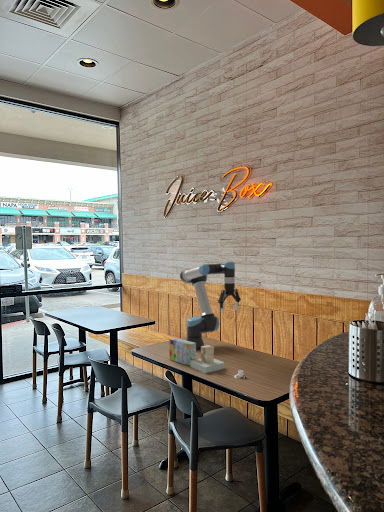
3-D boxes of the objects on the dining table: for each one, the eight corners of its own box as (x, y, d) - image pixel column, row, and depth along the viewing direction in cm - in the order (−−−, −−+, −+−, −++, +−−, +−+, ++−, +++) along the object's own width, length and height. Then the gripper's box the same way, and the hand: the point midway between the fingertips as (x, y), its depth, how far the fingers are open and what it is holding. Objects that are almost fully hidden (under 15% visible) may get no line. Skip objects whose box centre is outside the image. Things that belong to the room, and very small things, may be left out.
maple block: (201, 361, 261) (201, 346, 261) (208, 359, 265) (208, 345, 265) (206, 363, 257) (206, 348, 256) (213, 362, 260) (213, 347, 260)
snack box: (196, 364, 268) (196, 342, 267) (190, 366, 264) (190, 344, 263) (174, 358, 282) (174, 337, 281) (168, 359, 278) (168, 338, 277)
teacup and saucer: (239, 373, 250) (239, 367, 250) (250, 376, 245) (250, 370, 245) (231, 377, 244) (231, 371, 243) (242, 380, 238) (242, 374, 238)
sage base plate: (190, 366, 263) (190, 360, 263) (209, 362, 272) (209, 356, 272) (205, 373, 250) (205, 367, 250) (224, 368, 259) (224, 362, 259)
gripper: (219, 284, 278) (219, 314, 279) (245, 282, 293) (245, 310, 294) (213, 283, 284) (213, 312, 285) (238, 281, 299) (238, 308, 300)
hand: (229, 311), depth 290 cm, fingers open, 13 cm apart
